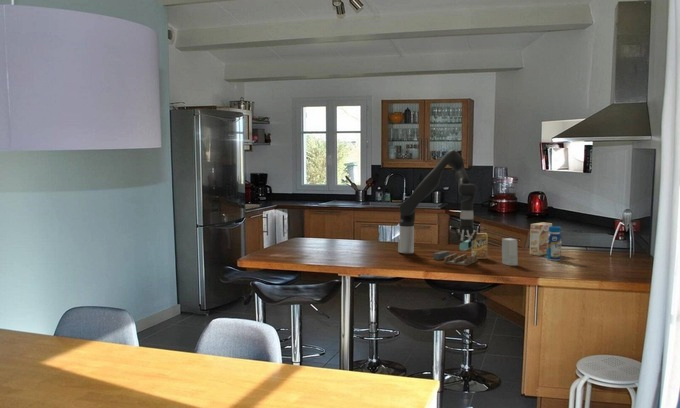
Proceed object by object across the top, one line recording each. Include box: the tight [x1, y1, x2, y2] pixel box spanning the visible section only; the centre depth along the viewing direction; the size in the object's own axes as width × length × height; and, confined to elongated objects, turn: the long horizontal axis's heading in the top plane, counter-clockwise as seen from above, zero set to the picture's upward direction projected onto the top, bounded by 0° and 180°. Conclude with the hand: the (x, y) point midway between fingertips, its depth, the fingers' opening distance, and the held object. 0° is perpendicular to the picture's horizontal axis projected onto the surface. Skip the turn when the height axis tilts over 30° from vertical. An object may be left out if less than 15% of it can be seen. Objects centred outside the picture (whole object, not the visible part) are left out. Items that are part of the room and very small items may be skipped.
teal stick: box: [459, 239, 473, 252], centre depth 344 cm, size 12×4×4 cm, turn 148°
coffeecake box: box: [529, 221, 553, 257], centre depth 376 cm, size 15×7×20 cm, turn 131°
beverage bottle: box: [546, 225, 563, 262], centre depth 355 cm, size 8×8×20 cm
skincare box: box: [501, 237, 519, 266], centre depth 340 cm, size 8×6×15 cm
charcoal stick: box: [433, 250, 451, 261], centre depth 358 cm, size 12×4×4 cm, turn 137°
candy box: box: [470, 232, 489, 260], centre depth 358 cm, size 9×4×15 cm, turn 107°
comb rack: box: [443, 252, 478, 267], centre depth 346 cm, size 18×14×4 cm
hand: (466, 247), depth 344 cm, fingers closed on teal stick, 3 cm apart
